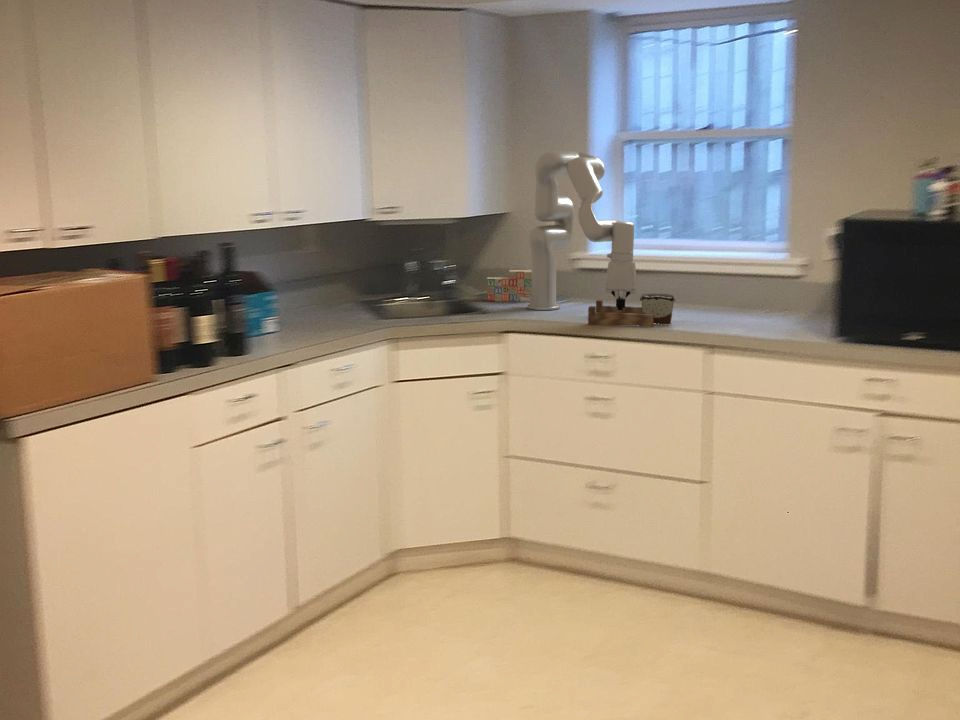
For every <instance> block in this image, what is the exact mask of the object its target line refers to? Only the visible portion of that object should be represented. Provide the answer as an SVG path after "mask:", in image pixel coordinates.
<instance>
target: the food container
mask: <svg viewBox="0 0 960 720" xmlns="http://www.w3.org/2000/svg"><path fill="white" fill-rule="evenodd" d="M639 302H641V307H642V312H643V314H654V318H653V323H659V324H658V325H661V324H671V325H672V318H673V317H672V316H673V309H674V303H676V302H677V301H676V297H675V295H674V294H671V293H659V292H658V293H656V292H655V293H653V292H651V293H643V294H641V296H640V298H639Z"/></svg>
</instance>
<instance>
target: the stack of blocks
mask: <svg viewBox="0 0 960 720" xmlns="http://www.w3.org/2000/svg"><path fill="white" fill-rule="evenodd" d="M508 272H509V273H508V277H506V276H505V277H499V276H497V277H494V276H490V277H489V276H488V277H486V302H516V301H515V300H520V298H521V297H526V298H529V297H530V296H531V269H508ZM510 300H511V301H510Z"/></svg>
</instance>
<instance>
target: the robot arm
mask: <svg viewBox="0 0 960 720" xmlns="http://www.w3.org/2000/svg"><path fill="white" fill-rule="evenodd" d="M534 174H535V194H534V195H535V196H534V217H535V219H536V220H537V221H539V222H545V223H547V222H548V223H549V222H554V223H553V224H545V225H543V224H542V225H537V226H535V227H532V229H531V230H530V231H529V234H528V245H529V250H530V259H531V261H530V264H531V265H530V268H531V269H530V270H531V296H530V297H529V298H526V297H521V298H520V301H519V302H520V303H528V304H527V306H526V307H527V309H529V310H534V311H552V310H554V311H555V310H559V309H560V308H561V305H560V304H558V303H557V259H556V257H555V255H554V253H553V252H554V251H555V250H556V251H557V250H558V251H559V250H564V249H567V248H568V247H570V245H571V243H572V240H573V239H572V238H573V235H574V234H573V231H574V220H575V219H574V217H575V209H574V207H575V206H574V204H573V201H572V200H571V199H570V198H569V197H568V196H567V195H566V196H565V195H559V182H558V180H557V177H556V176H557V175H568V177H569V179H570V182H571V183H572V185H573V188H574V190H575V192H576V194H577V197H578V199H579V201H580V203H579V207H578V221H579V225H580V227H581V229H582V232H583V234H584V235H585V237H586V239H588V240H589V241H591V242H593V243H603V242H604V243H605V242H611V252H610V253H607V255H606V258H609V259H610V260H609V261H608V262H607V269H606V270H607V271H606V279H605V280H606V283H605V292H606V293H607V294H611V295H612V296H613V297H615V306H616V307H618V310H623V308H625V306H626V299H627V298H628V297H629V296H630V295H634V294H636V293H637V270H636V267H637V266H636V261H634V245H635V244H634V240H635V239H634V238H635V225H634V223H633V222H631V221H620V220H617V219H601V220H600V219H599V220H598V219H597V218H596V216H595V214H594V211H593V204H595V203H596V202H598V201H599V200H600V199H601V198H602V196H603V189H602V187H601V185H600V182H599V181H600V180H601V179H602V178H603V177H604V176H605V164H604V163H603V161H602V160H601V159H600V158H598V157H596V156H593V155H590V154H588V153H587V154H586V153H584V152H580V151H576V150H569V151H568V150H552V151H551V150H550V151H546V152H543V153H542V154H540V155H539V156H538V157H537V159H536V162H535V165H534ZM621 291H622V296H621V294H620V292H621Z"/></svg>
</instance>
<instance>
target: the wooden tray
mask: <svg viewBox="0 0 960 720" xmlns="http://www.w3.org/2000/svg"><path fill="white" fill-rule="evenodd" d="M587 310H588V313H587V315H588V316H587V318H588V319H587V325H588V326H589V325H590V326H594V325H595V326H596V325H597V326H619V325H639V326H638V327H647V326H653V327H654V324H653V318H654V314H643V312H642V306H635V305H634V306H633V305H632V306H631V305H630V306H627V305H625V308H623V310H618V307H616V305H604V299H597V300H596V301H595V306H594V305H590V306H589V307H588V309H587Z"/></svg>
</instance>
